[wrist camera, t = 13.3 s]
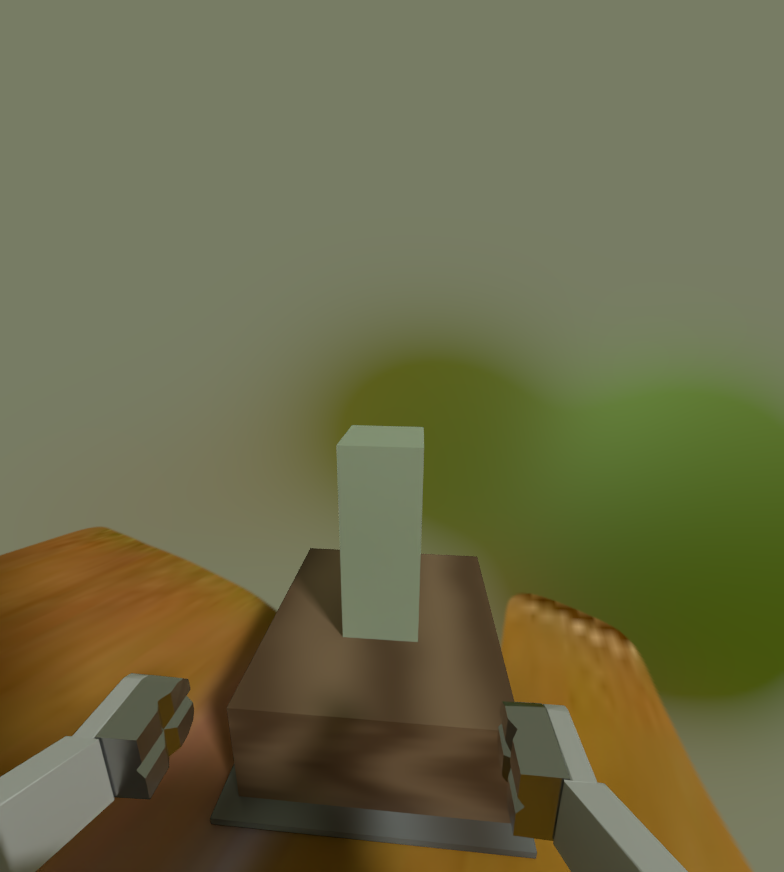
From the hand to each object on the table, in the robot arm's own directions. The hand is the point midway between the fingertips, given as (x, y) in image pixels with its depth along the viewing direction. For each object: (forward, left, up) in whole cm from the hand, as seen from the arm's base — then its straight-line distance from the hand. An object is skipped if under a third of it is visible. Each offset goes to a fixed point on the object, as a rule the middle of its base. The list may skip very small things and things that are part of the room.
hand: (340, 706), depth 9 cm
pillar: (0, +13, -8) cm, 15 cm away
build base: (0, +13, -15) cm, 19 cm away
